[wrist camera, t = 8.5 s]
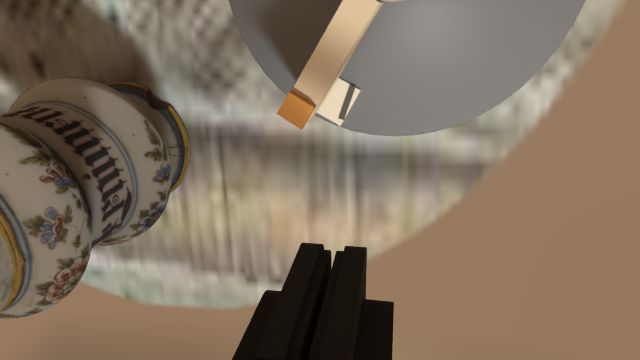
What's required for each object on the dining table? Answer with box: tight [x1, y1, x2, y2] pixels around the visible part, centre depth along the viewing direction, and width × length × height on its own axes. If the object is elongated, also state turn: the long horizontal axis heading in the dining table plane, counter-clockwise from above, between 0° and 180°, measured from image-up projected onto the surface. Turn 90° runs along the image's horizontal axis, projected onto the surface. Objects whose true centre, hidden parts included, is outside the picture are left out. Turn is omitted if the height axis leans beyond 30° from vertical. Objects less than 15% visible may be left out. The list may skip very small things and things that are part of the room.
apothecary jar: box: [0, 78, 190, 318], centre depth 27 cm, size 12×12×18 cm
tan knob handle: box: [277, 0, 406, 129], centre depth 24 cm, size 12×5×6 cm, turn 149°
